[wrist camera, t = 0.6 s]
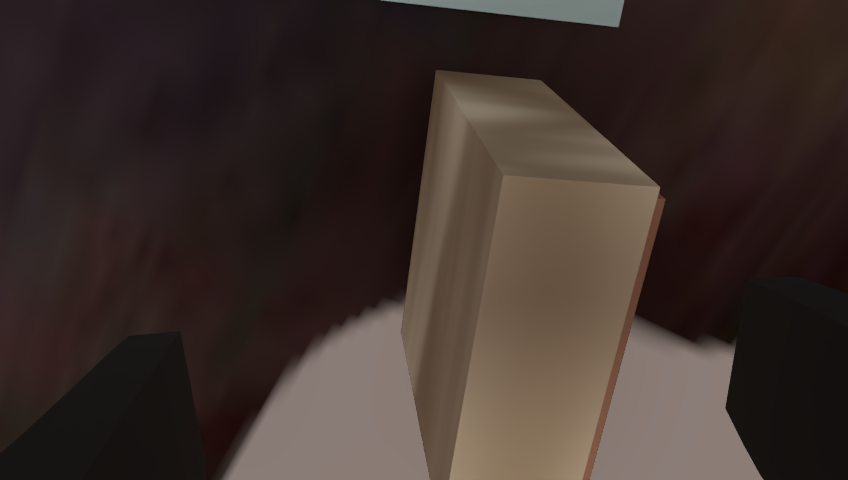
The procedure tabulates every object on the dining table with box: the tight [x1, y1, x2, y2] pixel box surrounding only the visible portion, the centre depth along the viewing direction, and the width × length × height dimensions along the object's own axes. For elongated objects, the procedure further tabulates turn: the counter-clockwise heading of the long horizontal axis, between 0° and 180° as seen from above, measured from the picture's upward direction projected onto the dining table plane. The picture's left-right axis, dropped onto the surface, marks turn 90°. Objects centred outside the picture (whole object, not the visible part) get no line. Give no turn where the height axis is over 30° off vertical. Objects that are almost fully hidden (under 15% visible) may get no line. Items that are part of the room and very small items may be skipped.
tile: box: [401, 70, 666, 480], centre depth 16 cm, size 3×7×7 cm, turn 173°
